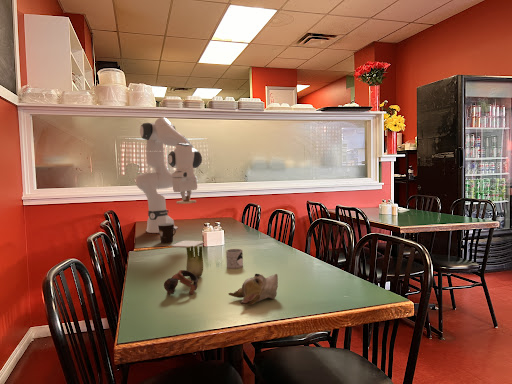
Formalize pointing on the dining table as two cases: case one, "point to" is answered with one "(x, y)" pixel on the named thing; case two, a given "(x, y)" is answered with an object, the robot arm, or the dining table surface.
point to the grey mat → (187, 244)
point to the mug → (234, 258)
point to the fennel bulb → (195, 261)
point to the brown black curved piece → (181, 281)
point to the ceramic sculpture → (257, 289)
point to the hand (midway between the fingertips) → (186, 199)
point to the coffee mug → (166, 232)
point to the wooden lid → (186, 201)
